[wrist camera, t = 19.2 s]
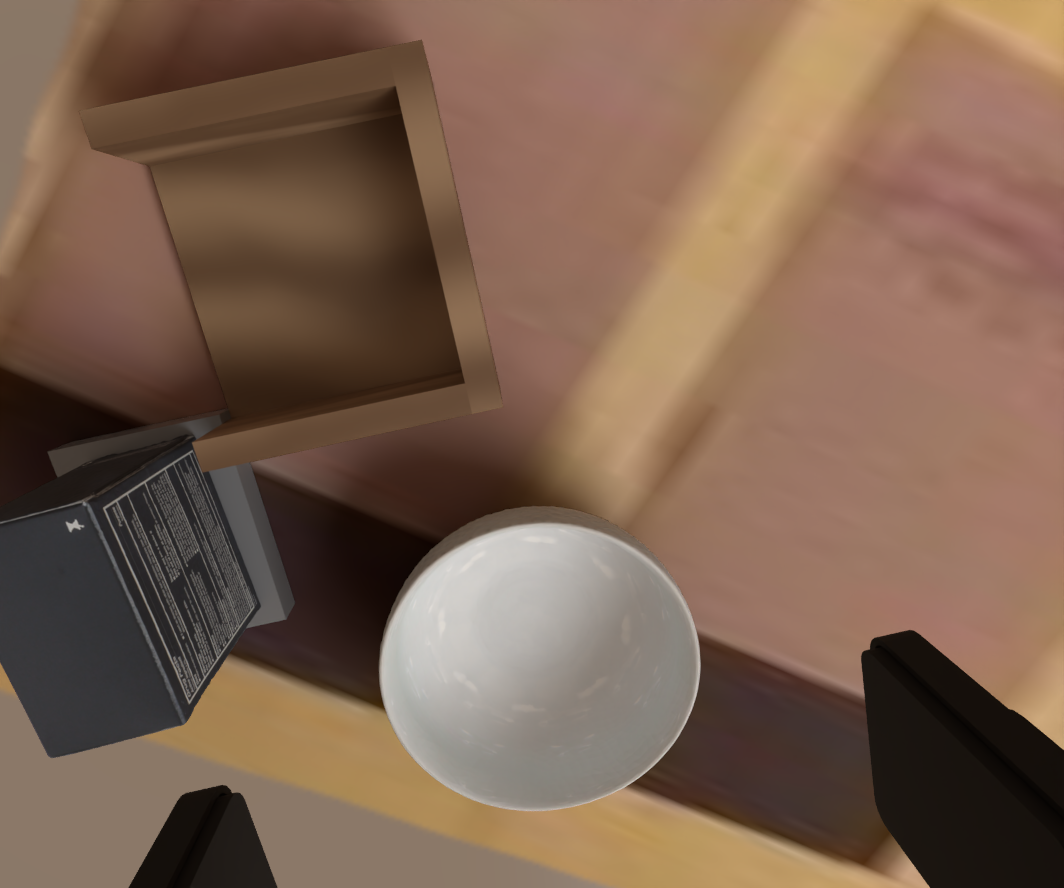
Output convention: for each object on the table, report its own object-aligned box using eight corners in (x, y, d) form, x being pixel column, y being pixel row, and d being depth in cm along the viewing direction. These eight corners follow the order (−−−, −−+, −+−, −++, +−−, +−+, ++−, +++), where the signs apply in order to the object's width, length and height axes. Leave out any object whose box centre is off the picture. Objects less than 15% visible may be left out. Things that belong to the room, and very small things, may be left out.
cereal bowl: (345, 543, 41) (318, 599, 34) (611, 435, 41) (638, 469, 34) (461, 771, 45) (458, 860, 39) (703, 675, 45) (744, 748, 38)
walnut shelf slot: (144, 136, 35) (78, 110, 29) (431, 76, 35) (421, 39, 30) (243, 442, 39) (202, 472, 33) (499, 386, 39) (503, 407, 34)
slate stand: (68, 442, 38) (47, 451, 37) (232, 407, 39) (219, 414, 37) (144, 636, 42) (127, 654, 40) (295, 602, 42) (286, 619, 40)
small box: (74, 462, 37) (-80, 537, 27) (196, 430, 37) (88, 492, 27) (152, 638, 39) (39, 767, 29) (265, 608, 40) (192, 726, 29)
